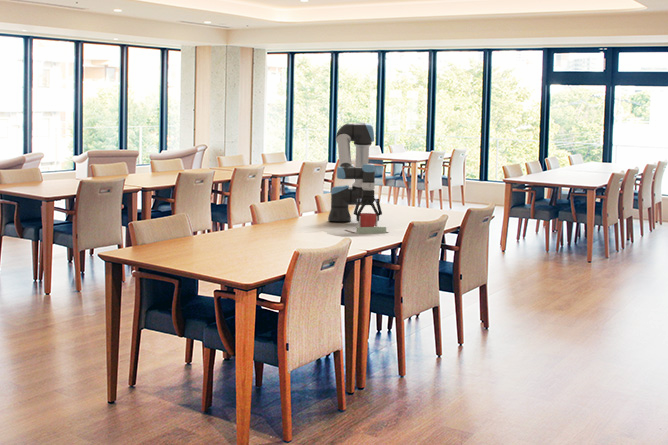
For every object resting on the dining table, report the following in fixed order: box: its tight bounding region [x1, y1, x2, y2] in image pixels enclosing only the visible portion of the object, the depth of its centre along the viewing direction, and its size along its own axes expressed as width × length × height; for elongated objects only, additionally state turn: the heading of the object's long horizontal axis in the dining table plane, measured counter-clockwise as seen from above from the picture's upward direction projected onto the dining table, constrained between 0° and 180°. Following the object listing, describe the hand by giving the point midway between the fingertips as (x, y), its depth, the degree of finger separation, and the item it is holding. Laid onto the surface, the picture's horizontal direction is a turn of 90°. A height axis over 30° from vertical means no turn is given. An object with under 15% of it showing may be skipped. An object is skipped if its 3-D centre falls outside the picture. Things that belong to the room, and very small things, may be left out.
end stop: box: [355, 226, 387, 234], centre depth 455 cm, size 2×18×4 cm, turn 106°
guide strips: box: [344, 229, 390, 234], centre depth 464 cm, size 18×22×1 cm
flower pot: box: [359, 212, 377, 227], centre depth 461 cm, size 11×11×10 cm
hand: (367, 226), depth 462 cm, fingers closed on flower pot, 10 cm apart
